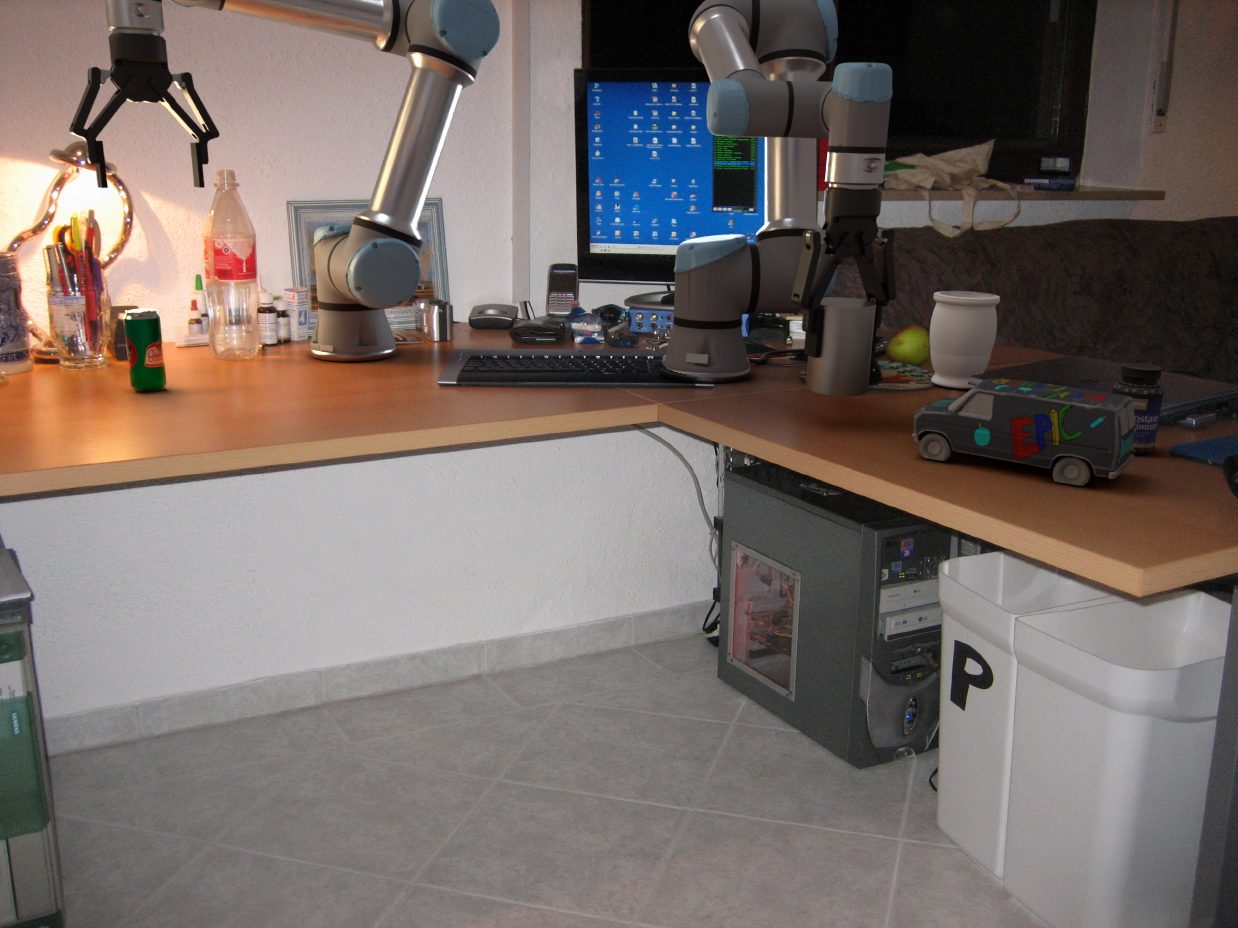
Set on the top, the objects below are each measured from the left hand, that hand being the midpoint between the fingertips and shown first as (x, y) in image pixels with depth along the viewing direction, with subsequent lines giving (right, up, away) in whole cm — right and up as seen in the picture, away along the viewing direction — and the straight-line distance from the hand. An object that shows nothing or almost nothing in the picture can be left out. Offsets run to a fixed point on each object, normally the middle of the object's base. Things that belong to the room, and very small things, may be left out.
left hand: (152, 188), depth 158 cm
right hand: (+100, -26, -9) cm, 104 cm away
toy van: (+119, -41, -26) cm, 128 cm away
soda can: (-3, -30, +5) cm, 30 cm away
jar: (+126, -28, +20) cm, 130 cm away
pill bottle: (+136, -39, -18) cm, 143 cm away
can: (+100, -30, -8) cm, 105 cm away
